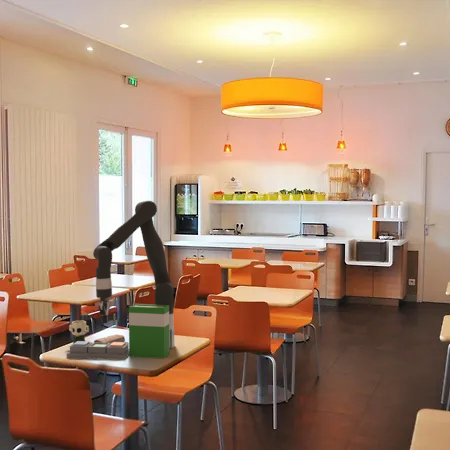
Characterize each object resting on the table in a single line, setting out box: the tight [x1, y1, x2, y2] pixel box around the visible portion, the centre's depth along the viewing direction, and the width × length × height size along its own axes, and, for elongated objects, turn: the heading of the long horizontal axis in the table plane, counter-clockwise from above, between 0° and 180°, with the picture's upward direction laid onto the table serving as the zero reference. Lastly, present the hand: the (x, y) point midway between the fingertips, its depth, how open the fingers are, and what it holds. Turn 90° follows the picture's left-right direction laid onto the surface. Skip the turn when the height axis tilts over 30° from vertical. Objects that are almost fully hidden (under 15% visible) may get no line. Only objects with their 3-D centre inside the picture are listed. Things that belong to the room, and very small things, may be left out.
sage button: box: [94, 344, 107, 347], centre depth 283 cm, size 6×6×2 cm
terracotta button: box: [110, 341, 126, 347], centre depth 282 cm, size 6×6×2 cm
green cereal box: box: [128, 303, 170, 359], centre depth 282 cm, size 18×7×24 cm, turn 77°
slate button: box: [72, 340, 90, 346], centre depth 284 cm, size 6×6×2 cm
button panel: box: [66, 341, 129, 360], centre depth 283 cm, size 28×12×5 cm, turn 85°
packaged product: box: [93, 334, 129, 344], centre depth 301 cm, size 18×5×10 cm
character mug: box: [68, 320, 90, 344], centre depth 298 cm, size 11×7×13 cm, turn 75°
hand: (105, 322), depth 285 cm, fingers closed
